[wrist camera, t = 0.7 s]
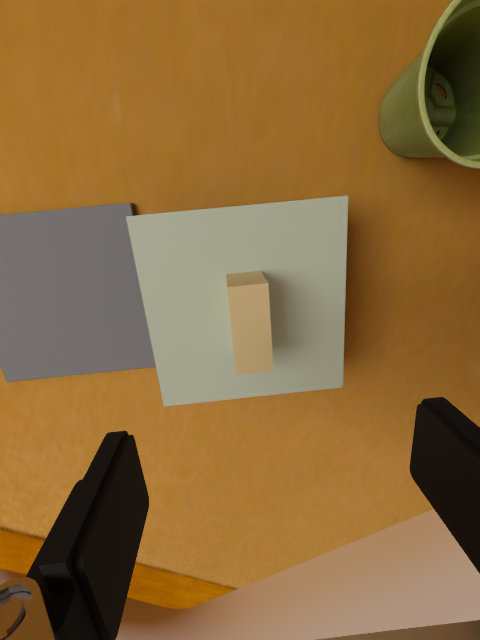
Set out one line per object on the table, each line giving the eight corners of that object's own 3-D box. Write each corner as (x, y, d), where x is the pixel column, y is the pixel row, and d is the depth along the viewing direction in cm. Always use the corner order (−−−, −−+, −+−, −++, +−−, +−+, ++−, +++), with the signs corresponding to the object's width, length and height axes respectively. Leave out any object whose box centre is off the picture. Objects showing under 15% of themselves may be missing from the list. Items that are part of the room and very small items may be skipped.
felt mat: (-51, 220, 26) (-57, 220, 25) (131, 203, 26) (129, 202, 26) (10, 378, 31) (6, 382, 30) (162, 363, 31) (161, 365, 31)
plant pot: (400, 204, 27) (475, 203, 19) (332, 114, 25) (386, 69, 17) (493, 117, 26) (620, 75, 17) (430, 10, 23) (545, -98, 15)
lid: (129, 216, 22) (104, 218, 17) (342, 196, 22) (375, 193, 17) (166, 399, 27) (154, 439, 22) (338, 381, 27) (363, 417, 23)
